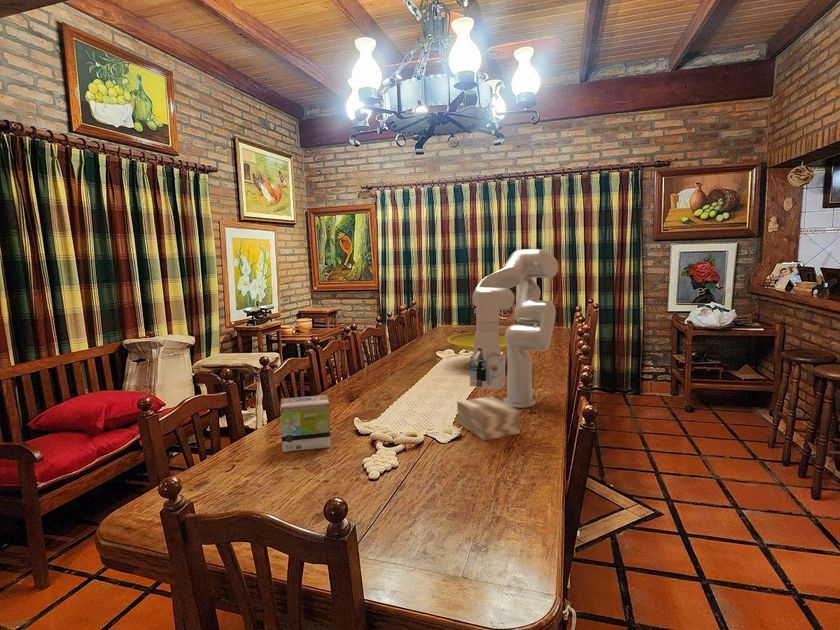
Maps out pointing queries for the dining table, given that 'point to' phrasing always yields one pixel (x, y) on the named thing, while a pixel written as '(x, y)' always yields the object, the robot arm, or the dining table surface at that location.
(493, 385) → the light bulb box
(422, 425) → the dining table surface
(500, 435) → the birch block
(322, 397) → the tea box
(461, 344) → the cake stand
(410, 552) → the dining table surface
